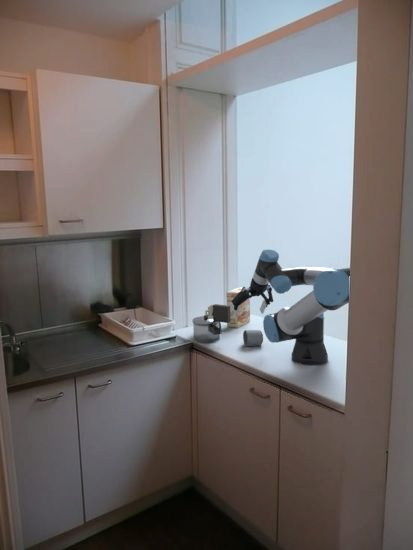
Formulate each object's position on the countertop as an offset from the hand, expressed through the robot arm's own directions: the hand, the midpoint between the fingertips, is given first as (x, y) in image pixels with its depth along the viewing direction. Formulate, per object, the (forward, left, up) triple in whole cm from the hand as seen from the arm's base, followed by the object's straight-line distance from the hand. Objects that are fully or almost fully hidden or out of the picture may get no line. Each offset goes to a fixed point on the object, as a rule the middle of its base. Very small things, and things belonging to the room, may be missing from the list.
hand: (248, 312), depth 212 cm
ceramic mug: (+1, -2, -16) cm, 16 cm away
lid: (+17, +11, -7) cm, 22 cm away
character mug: (+33, +2, -16) cm, 37 cm away
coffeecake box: (+36, -14, -16) cm, 42 cm away
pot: (+18, +13, -16) cm, 27 cm away
